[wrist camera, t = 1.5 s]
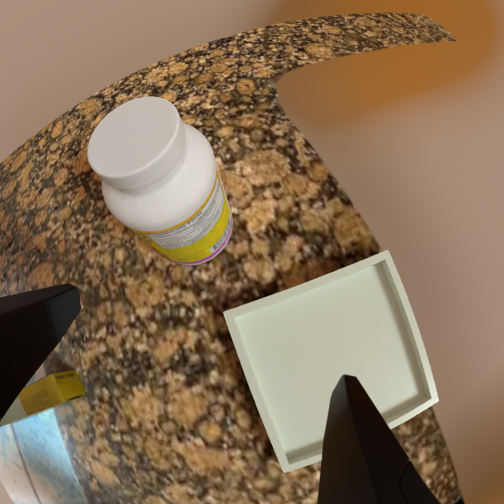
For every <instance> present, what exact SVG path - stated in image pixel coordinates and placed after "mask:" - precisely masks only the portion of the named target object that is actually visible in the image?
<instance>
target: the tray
mask: <svg viewBox="0 0 504 504" xmlns="http://www.w3.org/2000/svg"><path fill="white" fill-rule="evenodd" d="M223 314H224V317H225V320H226V323H227V326H228V329H229V332H230V334H231V337H232V340H233V343H234V346H235V349H236V352H237V354H238V357H239V360H240V363H241V365H242V368H243V371H244V374H245V376H246V379H247V382H248V385H249V387H250V390H251V393H252V395H253V398H254V400H255V403H256V406H257V408H258V411H259V413H260V416H261V419H262V421H263V424H264V426H265V429H266V431H267V434H268V436H269V439H270V441H271V444H272V446H273V449H274V451H275V453H276V456H277V458H278V461H279V463H280V465H281V468H282V470H283V472H284V473H285V472H289V471H292V470H295V469H298V468H301V467H304V466H307V465H310V464H313V463H316V462H318V461H321V460H322V447H323V438H324V432H325V427H326V422H327V416H328V410H329V404H330V398H331V394H332V392H333V390H334V388H335V386H336V385H337V383H338V381H339V379H340V378H341V376H342V375H344V374H347V375H352V376H356V377H357V378H358V380H359V381H360V383H361V384H362V386H363V388H364V389H365V391H366V392H367V394H368V395H369V397H370V398H371V400H372V401H373V403H374V404H375V406H376V408H377V409H378V411H379V412H380V414H381V415H382V417H383V418H384V420H385V421H386V423H387V425H388V426H389V428H390V429H392V428H394V427H396V426H398V425H400V424H401V423H403V422H405V421H407V420H409V419H410V418H412V417H414V416H415V415H417V414H419V413H420V412H422V411H424V410H425V409H427V408H428V407H430V406H432V405H433V404H435V403H436V402H438V401H439V400H438V395H437V391H436V387H435V383H434V379H433V375H432V372H431V368H430V365H429V361H428V358H427V354H426V351H425V347H424V344H423V341H422V338H421V335H420V332H419V329H418V326H417V323H416V320H415V317H414V314H413V311H412V308H411V306H410V303H409V300H408V297H407V295H406V292H405V290H404V287H403V284H402V282H401V279H400V277H399V274H398V272H397V269H396V267H395V265H394V262H393V260H392V257H391V255H390V253H389V251H388V250H386V251H384V252H381V253H379V254H376V255H374V256H371V257H369V258H367V259H364V260H362V261H359V262H357V263H354V264H352V265H349V266H347V267H344V268H342V269H339V270H337V271H334V272H332V273H329V274H326V275H324V276H321V277H319V278H316V279H313V280H311V281H308V282H305V283H303V284H300V285H297V286H295V287H292V288H289V289H287V290H284V291H281V292H278V293H276V294H273V295H270V296H267V297H265V298H262V299H259V300H256V301H253V302H250V303H248V304H245V305H242V306H239V307H236V308H233V309H230V310H227V311H224V312H223Z"/></svg>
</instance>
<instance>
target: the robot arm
mask: <svg viewBox="0 0 504 504" xmlns="http://www.w3.org/2000/svg"><path fill="white" fill-rule="evenodd" d="M80 309H81V304H80V296H79V290H78V288H77V287H76V286H74V285H72V284H69V283H67V284H62V285H57V286H52V287H48V288H43V289H38V290H33V291H28V292H24V293H19V294H14V295H9V296H5V297H0V422H1V420H2V418H3V417H4V415H5V414H6V412H7V411H8V410H9V408H10V407H11V405H12V404H13V402H14V401H15V399H16V398H17V397H18V395H19V394H20V392H21V391H22V390H23V388H24V387H25V386H26V384H27V383H28V382H29V380H30V379H31V378H32V376H33V375H34V374H35V372H36V371H37V370H38V368H39V367H40V366H41V365H42V363H43V362H44V361H45V359H46V358H47V357H48V356H49V354H50V353H51V352H52V351H53V349H54V348H55V347H56V346H57V344H58V343H59V342H60V340H61V339H62V337H63V336H64V334H65V333H66V331H67V330H68V328H69V327H70V325H71V324H72V322H73V321H74V320H75V318H76V317H77V315H78V314H79V312H80ZM317 504H441V503H440V502H439V500H438V499H437V498H436V497H435V495H434V494H433V493H432V492H431V490H430V489H429V488H428V486H427V485H426V484H425V482H424V481H423V479H422V478H421V476H420V475H419V473H418V472H417V470H416V469H415V467H414V465H413V464H412V462H411V461H409V458H408V456H407V454H406V453H405V451H404V450H403V448H402V447H401V445H400V443H399V442H398V440H397V439H396V437H395V436H394V434H393V432H392V431H391V429H390V428H389V426H388V425H387V423H386V421H385V420H384V418H383V417H382V415H381V414H380V412H379V411H378V409H377V408H376V406H375V404H374V403H373V401H372V400H371V398H370V397H369V395H368V394H367V392H366V391H365V389H364V388H363V386H362V384H361V383H360V381H359V380H358V378H357V377H356V376H352V375H347V374H344V375H342V376H341V378H340V379H339V381H338V383H337V385H336V386H335V388H334V390H333V392H332V394H331V398H330V404H329V410H328V416H327V422H326V427H325V432H324V438H323V447H322V460H321V472H320V483H319V493H318V502H317Z"/></svg>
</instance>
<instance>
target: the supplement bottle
mask: <svg viewBox="0 0 504 504" xmlns="http://www.w3.org/2000/svg"><path fill="white" fill-rule="evenodd" d="M87 155H88V161H89V164H90V166H91V167H92V169H93V170H94V171H95V172H96V174H97V175H98V176H99V177H100V178H101V179H102V193H103V197H104V200H105V203H106V205H107V207H108V209H109V210H110V212H111V213H112V214H113V215H114V217H115V218H117V219H118V220H119V221H120V222H121V223H122V224H124V225H125V226H126V227H127V228H129V229H130V230H131V231H133V232H134V233H135V234H136V235H138V236H139V237H140V238H142V239H143V240H144V241H145V242H147V243H148V244H149V245H151V246H152V247H153V248H154V249H156V250H157V251H158V252H160V253H161V254H162V255H164V256H165V257H166V258H168V259H169V260H171V261H173V262H175V263H178V264H182V265H197V264H201V263H204V262H206V261H209V260H211V259H212V258H214V257H215V256H216V255H218V254H219V253H220V252H221V251H222V250H223V248H224V247H225V246H226V244H227V242H228V240H229V238H230V235H231V232H232V225H233V221H232V214H231V210H230V207H229V203H228V200H227V197H226V194H225V190H224V187H223V184H222V181H221V178H220V174H219V171H218V167H217V164H216V160H215V157H214V153H213V150H212V148H211V146H210V144H209V142H208V140H207V139H206V138H205V137H204V135H203V134H202V133H201V132H199V131H198V130H197V129H195V128H194V127H192V126H190V125H188V124H185V123H183V122H182V120H181V118H180V116H179V113H178V111H177V110H176V108H175V107H174V106H173V104H171V103H170V102H169V101H167V100H165V99H162V98H159V97H141V98H137V99H133V100H131V101H128V102H126V103H124V104H122V105H120V106H119V107H117V108H116V109H114V110H113V111H111V112H110V113H109V114H108V115H107V116H106V117H105V118H103V120H102V121H101V122H100V123H99V124H98V126H97V127H96V129H95V130H94V132H93V134H92V136H91V138H90V141H89V144H88V152H87Z"/></svg>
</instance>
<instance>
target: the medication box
mask: <svg viewBox="0 0 504 504" xmlns="http://www.w3.org/2000/svg"><path fill="white" fill-rule="evenodd" d="M85 394H86V392H85V389H84V387H83V384H82V382H81V380H80V378H79V376H78V374H77V372H76V370H75V369H74V370H69V371H63V372H58V373H52V374H50V375H48V376H46V377H44V378H42V379H40V380H38V381H36V382H34V383H32V384H30V385H28V386H26V387H24V388H23V390H22V391H21V392H20V394H19V395H18V397H17V398H16V399H15V401H14V402H13V404H12V405H11V407H10V408H9V410H8V411H7V412H6V414H5V415H4V417H3V418H2V420H1V422H0V427H1V426H5V425H8V424H12V423H15V422H18V421H21V420H25V419H27V418H30V417H33V416H35V415H38V414H40V413H43V412H46V411H48V410H50V409H53V408H55V407H58V406H60V405H63V404H65V403H68V402H70V401H73V400H75V399H78V398H80V397H82V396H84V395H85Z"/></svg>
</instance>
